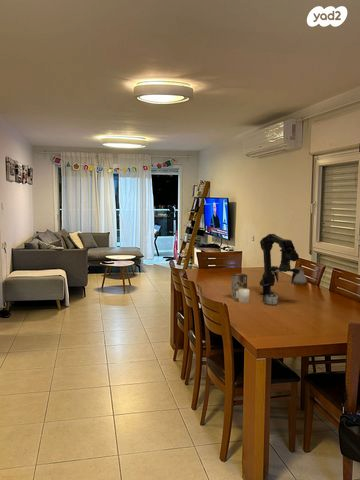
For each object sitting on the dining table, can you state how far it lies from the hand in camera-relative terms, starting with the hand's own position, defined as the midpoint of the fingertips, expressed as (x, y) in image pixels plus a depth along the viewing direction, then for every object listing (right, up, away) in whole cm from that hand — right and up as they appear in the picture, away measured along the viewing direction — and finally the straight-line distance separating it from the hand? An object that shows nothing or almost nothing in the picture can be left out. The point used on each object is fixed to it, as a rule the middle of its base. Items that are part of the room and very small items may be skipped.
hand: (284, 282), depth 270 cm
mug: (-26, -13, +2) cm, 29 cm away
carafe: (-10, -13, -3) cm, 17 cm away
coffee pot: (+22, -7, +60) cm, 65 cm away
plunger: (-10, -12, -4) cm, 16 cm away
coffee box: (-28, -12, +12) cm, 33 cm away
